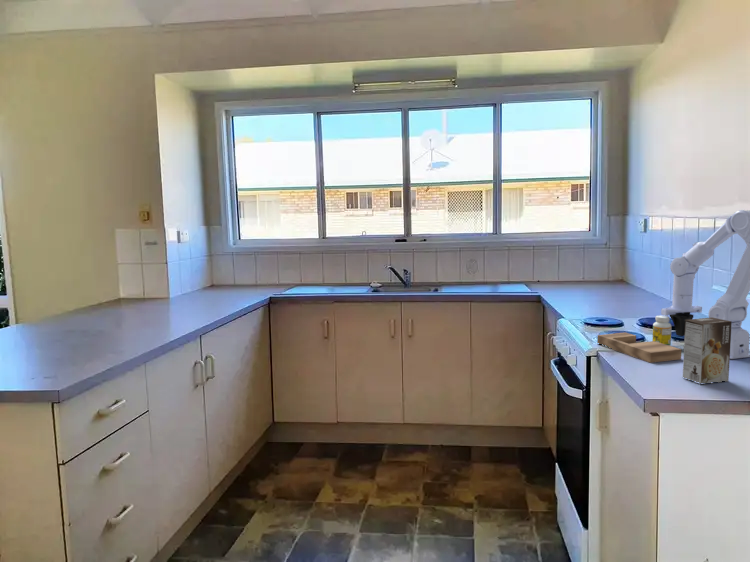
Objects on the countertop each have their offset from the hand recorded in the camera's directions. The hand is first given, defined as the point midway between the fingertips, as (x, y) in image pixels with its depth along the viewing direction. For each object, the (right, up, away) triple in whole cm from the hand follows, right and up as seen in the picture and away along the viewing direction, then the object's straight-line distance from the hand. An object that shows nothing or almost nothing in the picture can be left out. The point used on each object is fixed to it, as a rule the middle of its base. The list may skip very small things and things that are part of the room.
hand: (680, 335), depth 193 cm
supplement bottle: (-7, -3, -2) cm, 8 cm away
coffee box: (-13, -9, -38) cm, 41 cm away
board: (-18, -4, -8) cm, 20 cm away
